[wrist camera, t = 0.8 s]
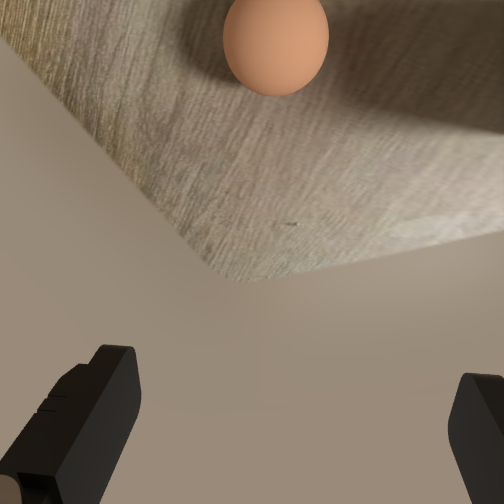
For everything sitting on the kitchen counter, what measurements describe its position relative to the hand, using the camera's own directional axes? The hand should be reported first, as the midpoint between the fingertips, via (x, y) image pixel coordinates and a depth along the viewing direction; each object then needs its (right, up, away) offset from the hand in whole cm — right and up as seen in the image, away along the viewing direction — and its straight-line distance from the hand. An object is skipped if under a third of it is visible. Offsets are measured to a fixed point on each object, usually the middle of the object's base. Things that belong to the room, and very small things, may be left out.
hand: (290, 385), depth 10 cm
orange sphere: (0, +14, +11) cm, 18 cm away
